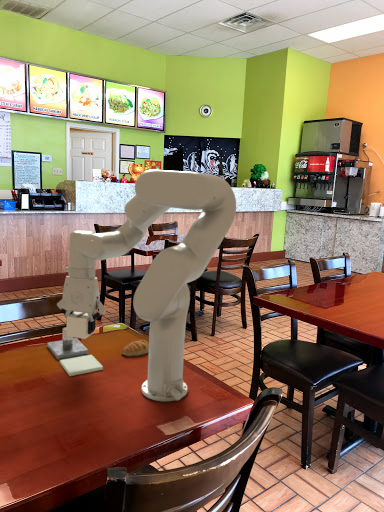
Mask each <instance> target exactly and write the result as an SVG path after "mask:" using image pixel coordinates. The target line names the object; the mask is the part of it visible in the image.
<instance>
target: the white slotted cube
mask: <svg viewBox="0 0 384 512" xmlns="http://www.w3.org/2000/svg"><path fill="white" fill-rule="evenodd" d="M88 321H90V319H89V316H88V313H83V312H76V311H74V313H72V314H70V315H69V316H67V332H66V336H69V337H73V338H77V339H83V340H86V339H87V338H88V337H90V336H92V335H93V334H94V333H95V331H94V332H93V333H91V334H88Z"/></svg>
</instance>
